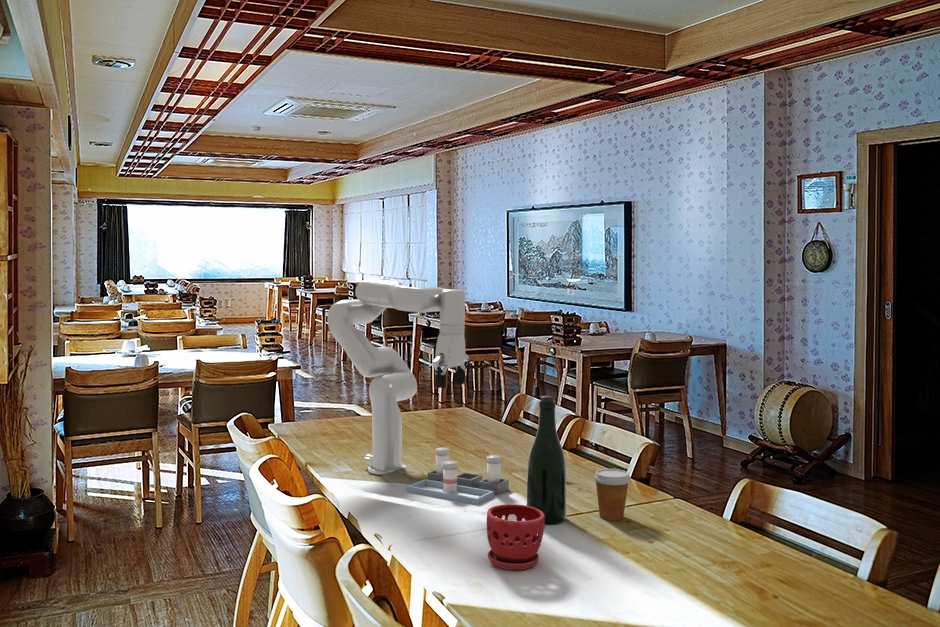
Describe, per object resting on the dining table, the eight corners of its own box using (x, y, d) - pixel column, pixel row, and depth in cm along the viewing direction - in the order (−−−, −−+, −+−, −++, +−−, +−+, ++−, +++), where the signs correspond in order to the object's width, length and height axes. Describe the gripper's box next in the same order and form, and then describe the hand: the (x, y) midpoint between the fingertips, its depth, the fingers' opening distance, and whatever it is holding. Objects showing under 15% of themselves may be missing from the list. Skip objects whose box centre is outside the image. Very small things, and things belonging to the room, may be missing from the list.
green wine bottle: (519, 515, 219) (520, 394, 217) (553, 511, 223) (554, 391, 221) (538, 527, 210) (539, 400, 207) (573, 522, 214) (574, 397, 212)
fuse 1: (432, 482, 246) (432, 449, 246) (440, 479, 250) (440, 446, 249) (444, 484, 244) (444, 451, 243) (451, 481, 248) (451, 448, 247)
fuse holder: (425, 488, 245) (425, 473, 245) (440, 481, 252) (440, 467, 252) (496, 501, 233) (496, 485, 232) (510, 494, 239) (510, 479, 239)
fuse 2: (483, 491, 237) (483, 457, 236) (491, 487, 240) (491, 454, 240) (496, 493, 235) (496, 459, 234) (503, 490, 238) (503, 456, 238)
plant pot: (501, 578, 177) (502, 523, 176) (477, 557, 189) (477, 506, 188) (554, 569, 182) (555, 516, 181) (527, 549, 194) (527, 500, 193)
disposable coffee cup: (608, 524, 212) (608, 479, 211) (586, 514, 221) (587, 470, 220) (637, 519, 216) (637, 474, 216) (614, 509, 225) (615, 466, 224)
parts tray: (406, 496, 237) (406, 486, 237) (424, 489, 244) (424, 479, 244) (477, 509, 224) (477, 499, 224) (494, 501, 232) (494, 491, 232)
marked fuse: (439, 497, 234) (440, 463, 233) (447, 493, 237) (448, 460, 236) (452, 499, 231) (452, 465, 231) (460, 496, 235) (460, 462, 234)
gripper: (458, 327, 257) (456, 380, 259) (424, 331, 243) (423, 387, 244) (478, 329, 253) (476, 383, 254) (445, 333, 239) (443, 390, 240)
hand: (450, 385), depth 249 cm, fingers open, 9 cm apart
